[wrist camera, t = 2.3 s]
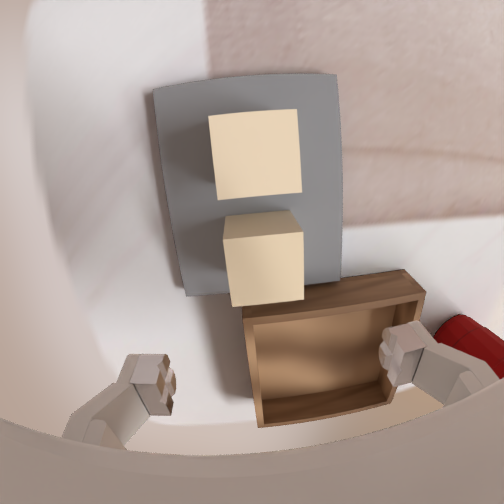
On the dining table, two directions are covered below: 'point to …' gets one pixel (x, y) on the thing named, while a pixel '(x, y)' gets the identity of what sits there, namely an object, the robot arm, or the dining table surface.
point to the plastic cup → (473, 341)
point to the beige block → (264, 258)
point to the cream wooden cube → (256, 153)
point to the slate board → (214, 211)
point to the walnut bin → (326, 347)
